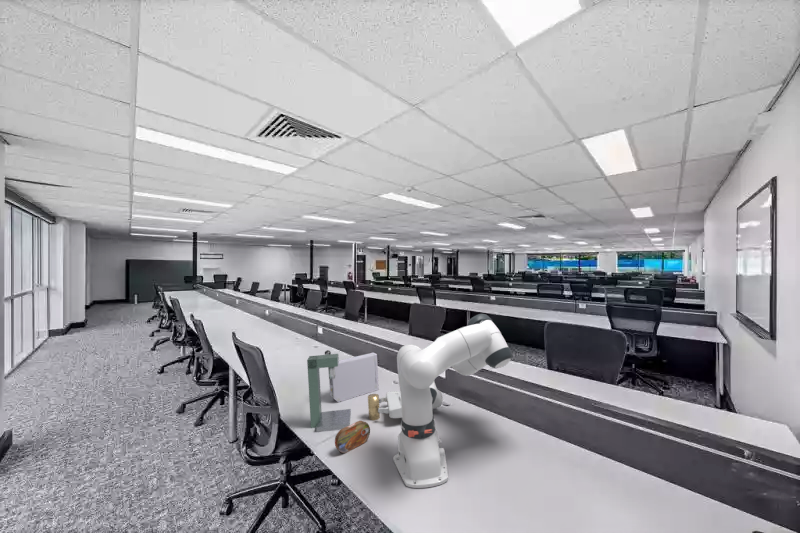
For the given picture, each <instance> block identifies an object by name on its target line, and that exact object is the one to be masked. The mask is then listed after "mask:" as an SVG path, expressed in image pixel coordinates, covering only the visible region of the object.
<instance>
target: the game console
mask: <svg viewBox="0 0 800 533" xmlns="http://www.w3.org/2000/svg"><path fill="white" fill-rule="evenodd" d="M378 369H379V368H378V354H377V353H375V352H371V353H365V354H360V355H358V356H357V355H356V356H353V357H349V358H344V359H339V364H338V366H337V367H335V375H336V378H335V379H329V378H328V380H329V381H328V382H329V383H328V385H329V396H330V397H331V398H332V399H334V400H335V401H336V402H338V403H341V402H344V401H347V400H351V399H353V397H354V398H356V396H357V397H359V395H360V396H362V395H366V394H370V393H372V392H375V391H378V390H380V388H379V384H380V383H379V370H378ZM340 401H341V402H340Z"/></svg>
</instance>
